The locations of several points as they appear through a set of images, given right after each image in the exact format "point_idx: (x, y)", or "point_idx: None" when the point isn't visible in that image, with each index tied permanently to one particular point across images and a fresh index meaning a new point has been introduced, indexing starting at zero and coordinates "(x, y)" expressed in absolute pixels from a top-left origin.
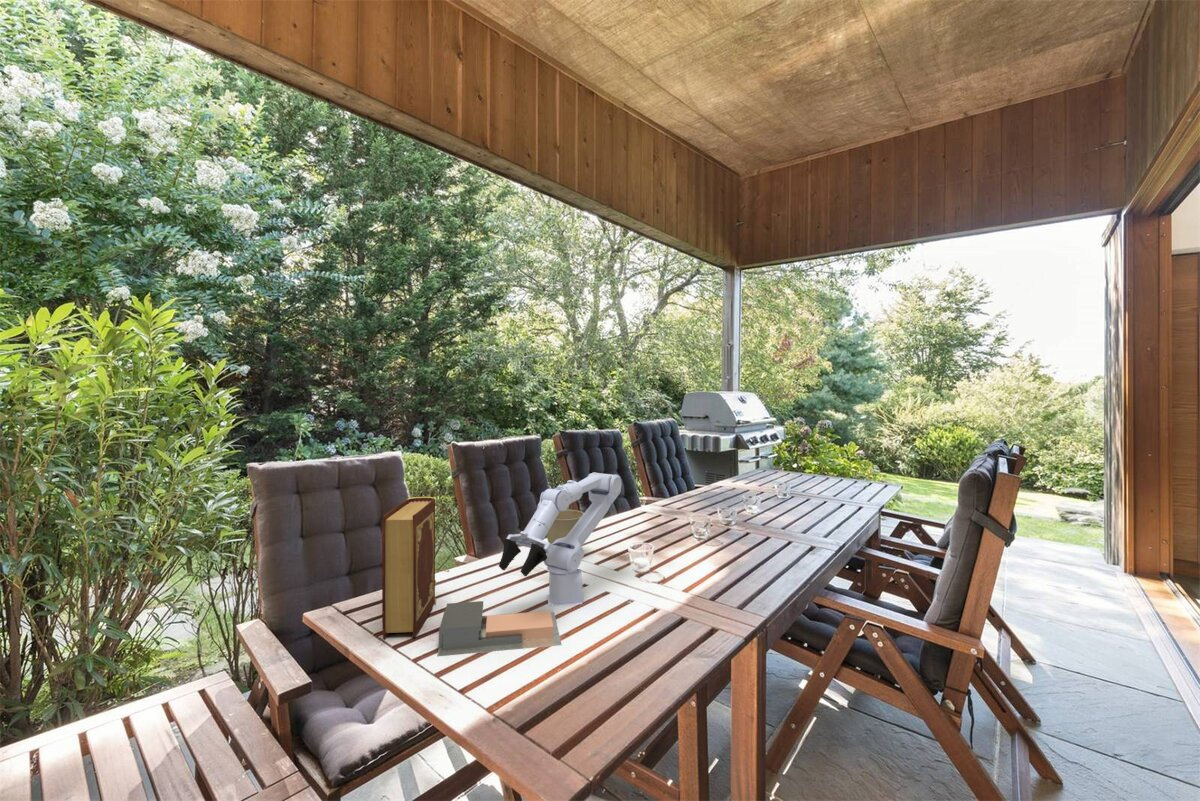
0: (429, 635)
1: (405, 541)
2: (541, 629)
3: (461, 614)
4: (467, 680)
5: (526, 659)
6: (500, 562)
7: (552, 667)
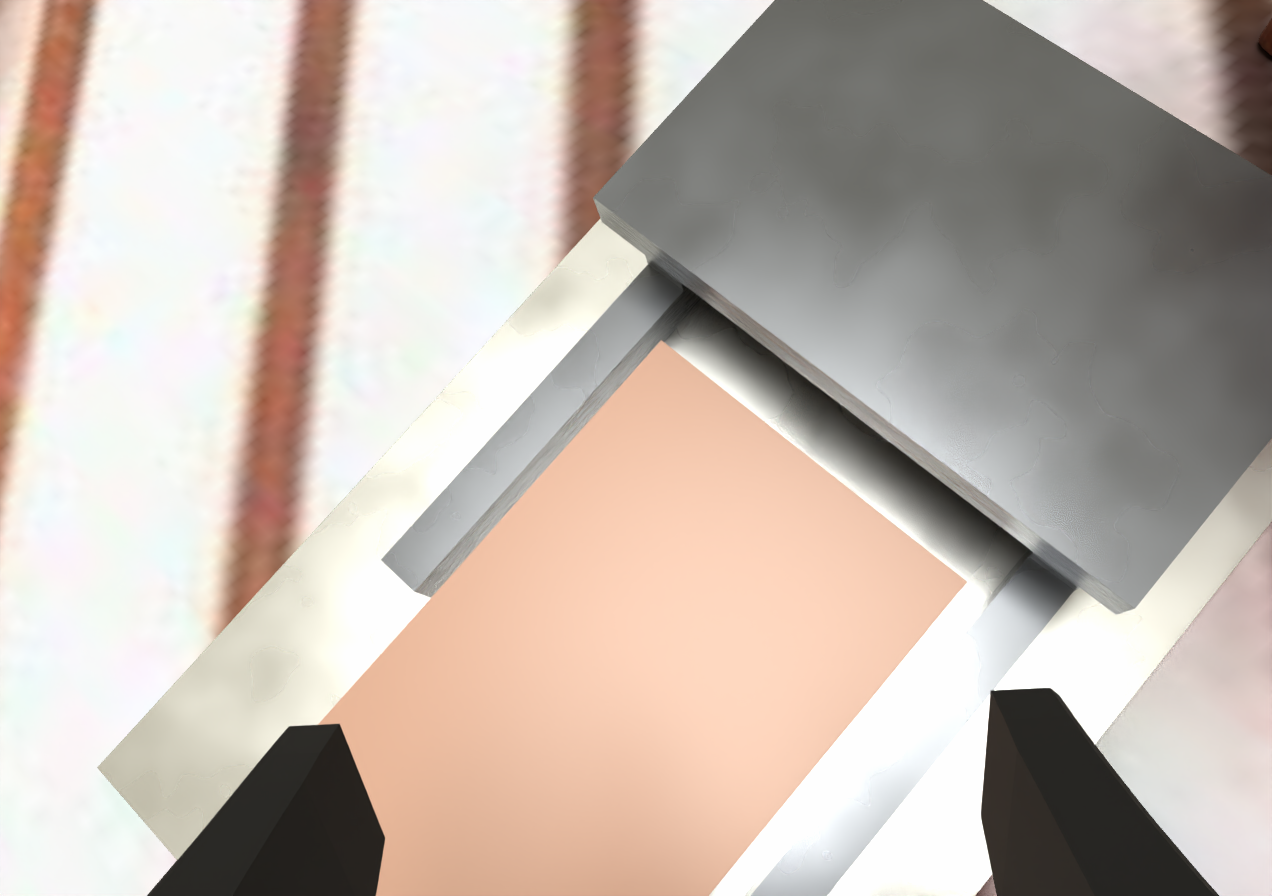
0: None
1: None
2: None
3: (980, 209)
4: (394, 27)
5: (242, 445)
6: (1060, 733)
7: (15, 491)
